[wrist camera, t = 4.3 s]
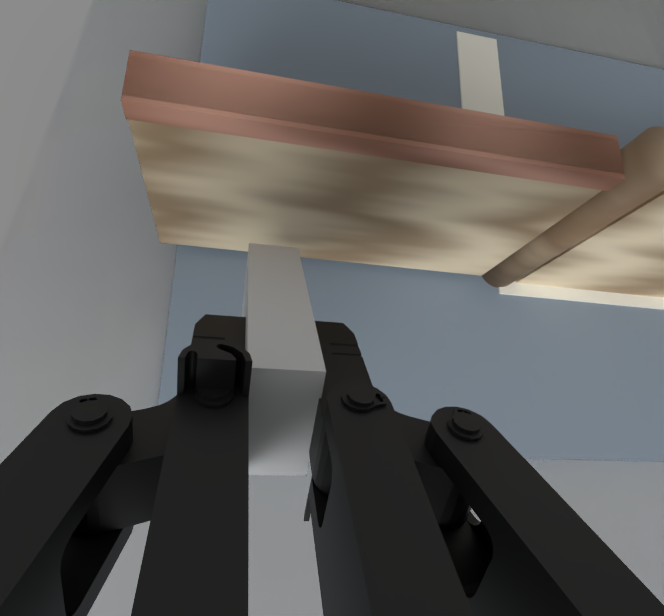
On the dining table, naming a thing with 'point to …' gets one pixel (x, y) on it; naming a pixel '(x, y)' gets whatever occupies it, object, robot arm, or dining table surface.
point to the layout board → (444, 287)
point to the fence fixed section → (603, 234)
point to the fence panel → (350, 169)
